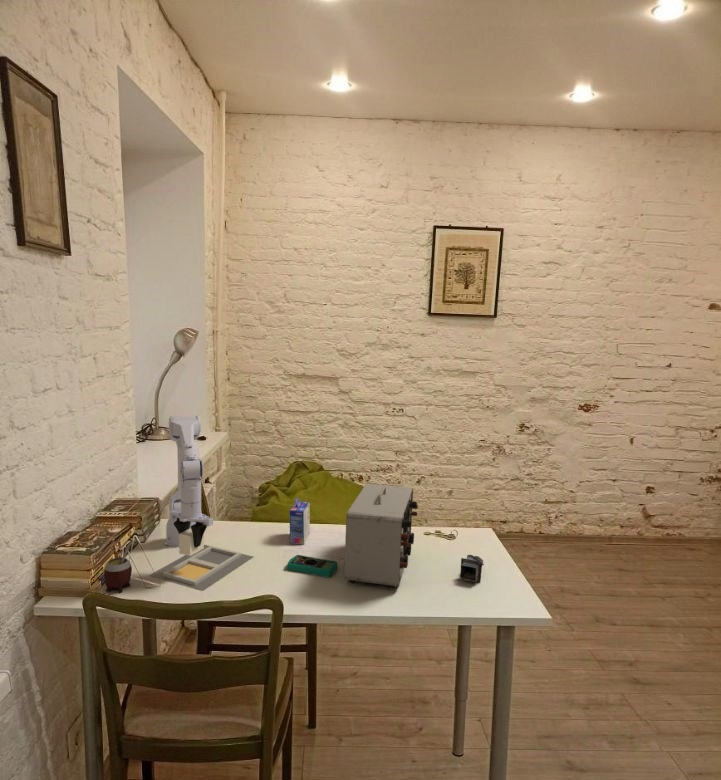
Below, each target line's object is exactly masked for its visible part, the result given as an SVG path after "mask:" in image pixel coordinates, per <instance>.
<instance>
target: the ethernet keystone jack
mask: <svg viewBox="0 0 721 780" xmlns="http://www.w3.org/2000/svg"><path fill="white" fill-rule="evenodd" d="M484 565H485V563H484V560H483V558H481V557H480V556H478V555H475V556H474V555H473V554H467V555H466V558H463V557H461V559H460V573H459V578H460V579H461V580H464V581H468V582H473V583H479V584H480V583H481V581H482V571H483V569H482V568H483V566H484Z"/></svg>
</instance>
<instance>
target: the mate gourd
mask: <svg viewBox="0 0 721 780" xmlns="http://www.w3.org/2000/svg"><path fill="white" fill-rule="evenodd" d="M137 540H138V538H135V539H134V540H132V541H131V542H129V543H128V544H127V545H126V546H125V551H124V553H123V557H114V558H112V559H109V561H107V562H106V564H105V566H104V570H103V578H104V584H105V587H106V589H105V591H106V593H109V592H111V591H112V592H113V591H116V590H117V591H118V594H122V593H123V590H122V589H124V588H129V587H130V586H131V583H130V581H131V578H132V570H133V569H132V564H131V562H130V561H129V559H128V558H126V555H127V554H128V551H129V549H130V548H131V545H133V544H134V543H135V542H136V541H137Z"/></svg>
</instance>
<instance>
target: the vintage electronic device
mask: <svg viewBox="0 0 721 780" xmlns="http://www.w3.org/2000/svg"><path fill="white" fill-rule="evenodd" d="M413 500H414V487H407V486H399V485H397V486H396V485H387V484H376V483H365V485H364V486H363V488H362V489H361V491H360V492H359V494H358V495H357V496H356V498H355V500H354V501H353V502H352V504H351V505H350V508H348V510H347V512H346V518H345V541H344V542H345V545H344V547H345V548H344V569H343V571H344V572H343V574H344V576H343V579H344V580H346V581H348V582H349V583H352V584H355V583H357V582H359V583H368V584H374V585H375V584H377V585H384V586H387V587H388V588H389V589H395V588H396V587H400V584H401V580H402V577H403V573H404V569H407V568H408V563H409V556H411V554H412V545H414V544H415V543H414V541H415V532H412V521H413V519H412V517H418V512H417V511H414V510H418V501H415V500H414V501H413ZM413 509H414V510H413Z"/></svg>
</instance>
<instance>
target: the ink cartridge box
mask: <svg viewBox="0 0 721 780" xmlns="http://www.w3.org/2000/svg"><path fill="white" fill-rule="evenodd" d="M310 507H311V505H310V501H300V500H299V499H298V497H296V498H295V500H294V504H293V505H292V507H291V508H290V509H289V544H293V545H305V543H306V542H307V539H308V538H309V536H310V532H311V531H310V529H311V528H310V527H311V526H310V524H311V523H310V522H311V521H310V517H311V516H310V513H311V512H310V511H311V509H310Z"/></svg>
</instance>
